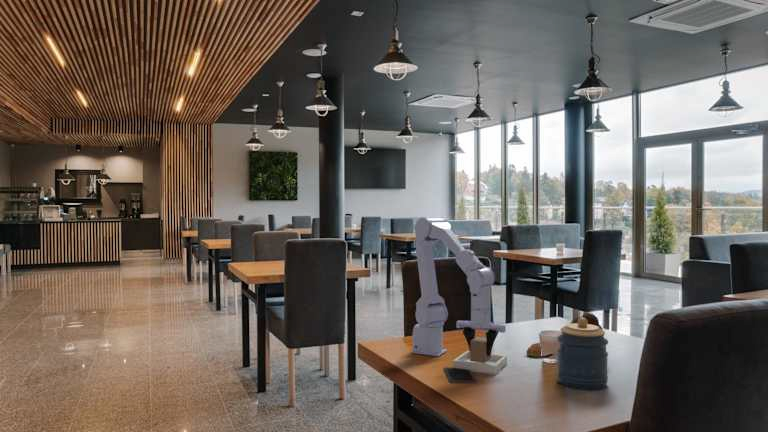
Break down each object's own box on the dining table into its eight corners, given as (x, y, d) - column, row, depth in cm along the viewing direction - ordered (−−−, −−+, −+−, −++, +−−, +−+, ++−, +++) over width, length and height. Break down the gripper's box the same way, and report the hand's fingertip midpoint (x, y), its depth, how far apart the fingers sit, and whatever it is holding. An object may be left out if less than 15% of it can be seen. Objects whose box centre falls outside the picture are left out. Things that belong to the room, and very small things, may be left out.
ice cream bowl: (605, 358, 173) (605, 311, 173) (603, 368, 163) (603, 317, 163) (569, 355, 178) (570, 308, 177) (565, 363, 167) (565, 314, 167)
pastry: (539, 359, 172) (539, 347, 172) (520, 355, 177) (520, 344, 177) (554, 354, 179) (554, 342, 179) (536, 350, 184) (536, 339, 184)
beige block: (470, 361, 163) (470, 340, 163) (476, 356, 168) (476, 336, 168) (485, 363, 160) (485, 342, 160) (490, 358, 166) (491, 338, 166)
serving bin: (453, 368, 161) (453, 360, 161) (467, 358, 172) (467, 350, 172) (495, 375, 155) (495, 366, 155) (506, 364, 167) (506, 355, 167)
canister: (602, 394, 140) (603, 324, 140) (551, 385, 147) (551, 319, 147) (611, 380, 151) (612, 316, 151) (563, 373, 158) (564, 311, 158)
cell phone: (468, 369, 162) (468, 367, 162) (477, 384, 148) (477, 381, 148) (443, 369, 162) (443, 367, 162) (450, 384, 148) (450, 381, 148)
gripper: (453, 308, 164) (452, 354, 164) (501, 312, 157) (500, 360, 157) (460, 304, 170) (460, 348, 170) (507, 308, 163) (507, 354, 163)
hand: (480, 354), depth 164 cm, fingers closed on beige block, 4 cm apart
